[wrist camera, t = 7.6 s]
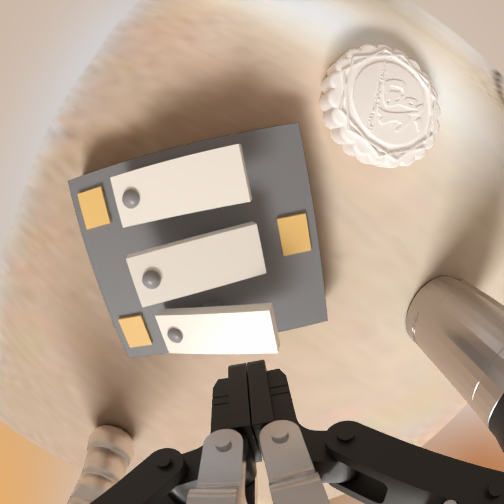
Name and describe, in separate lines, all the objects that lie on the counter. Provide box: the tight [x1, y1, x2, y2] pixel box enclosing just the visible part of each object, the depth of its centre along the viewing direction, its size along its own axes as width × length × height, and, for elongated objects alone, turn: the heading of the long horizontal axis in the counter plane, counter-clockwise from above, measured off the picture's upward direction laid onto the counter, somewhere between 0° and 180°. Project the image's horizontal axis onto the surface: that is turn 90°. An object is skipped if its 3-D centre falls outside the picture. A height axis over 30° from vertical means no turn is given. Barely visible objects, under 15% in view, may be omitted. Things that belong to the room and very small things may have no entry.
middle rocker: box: [126, 221, 266, 308], centre depth 24 cm, size 10×4×1 cm, turn 101°
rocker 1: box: [110, 144, 252, 228], centre depth 22 cm, size 10×4×1 cm, turn 101°
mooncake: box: [319, 44, 440, 168], centre depth 25 cm, size 12×12×4 cm
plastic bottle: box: [67, 425, 134, 504], centre depth 26 cm, size 6×7×20 cm
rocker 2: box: [155, 303, 280, 354], centre depth 25 cm, size 10×4×1 cm, turn 101°
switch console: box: [68, 123, 328, 358], centre depth 27 cm, size 20×18×4 cm
